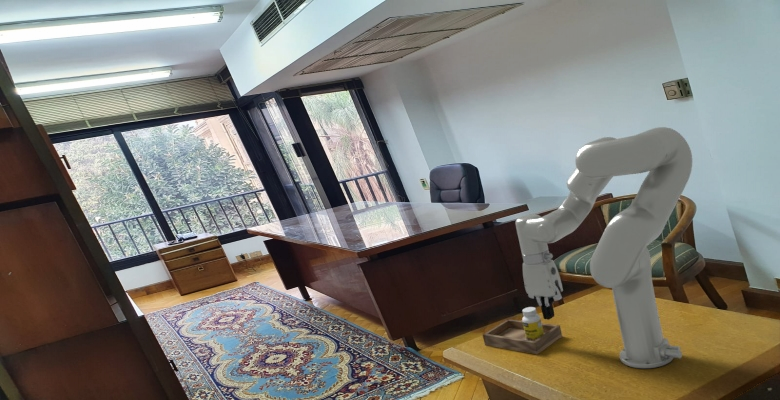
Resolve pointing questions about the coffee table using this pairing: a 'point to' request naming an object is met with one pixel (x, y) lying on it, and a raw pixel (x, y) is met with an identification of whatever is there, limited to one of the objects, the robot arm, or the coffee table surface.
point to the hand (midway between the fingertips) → (549, 317)
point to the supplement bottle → (532, 324)
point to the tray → (520, 337)
